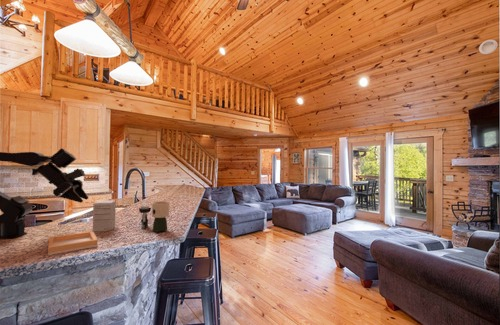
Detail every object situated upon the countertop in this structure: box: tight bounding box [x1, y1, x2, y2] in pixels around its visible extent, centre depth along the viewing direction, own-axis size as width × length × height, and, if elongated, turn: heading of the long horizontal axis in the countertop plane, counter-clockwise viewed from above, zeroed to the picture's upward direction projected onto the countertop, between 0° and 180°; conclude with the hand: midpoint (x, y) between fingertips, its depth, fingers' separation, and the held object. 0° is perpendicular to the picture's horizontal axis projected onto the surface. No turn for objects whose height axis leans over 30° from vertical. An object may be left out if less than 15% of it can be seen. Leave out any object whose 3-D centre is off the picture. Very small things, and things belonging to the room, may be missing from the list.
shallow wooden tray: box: [47, 230, 99, 256], centre depth 82 cm, size 13×13×2 cm
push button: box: [138, 205, 152, 229], centre depth 107 cm, size 7×5×10 cm
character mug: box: [151, 200, 170, 233], centre depth 102 cm, size 11×7×13 cm, turn 24°
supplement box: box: [92, 199, 116, 232], centre depth 103 cm, size 7×7×13 cm
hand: (85, 200), depth 100 cm, fingers open, 9 cm apart
